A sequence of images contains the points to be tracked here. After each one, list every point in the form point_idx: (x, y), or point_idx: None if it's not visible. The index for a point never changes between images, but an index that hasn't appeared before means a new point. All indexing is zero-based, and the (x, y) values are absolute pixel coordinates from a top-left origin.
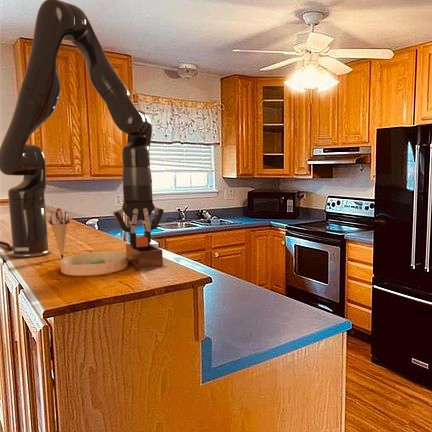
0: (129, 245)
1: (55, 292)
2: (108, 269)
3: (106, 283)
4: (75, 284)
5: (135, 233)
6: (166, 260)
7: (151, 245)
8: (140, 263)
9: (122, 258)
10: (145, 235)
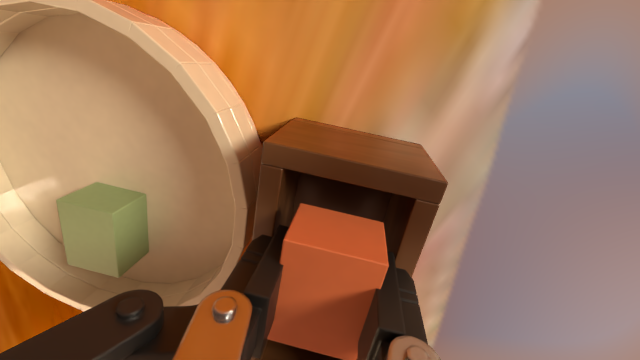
0: (266, 207)
1: (15, 332)
2: None
3: None
4: (57, 306)
5: (255, 356)
6: (452, 260)
7: None
8: None
9: (193, 301)
10: (362, 337)
